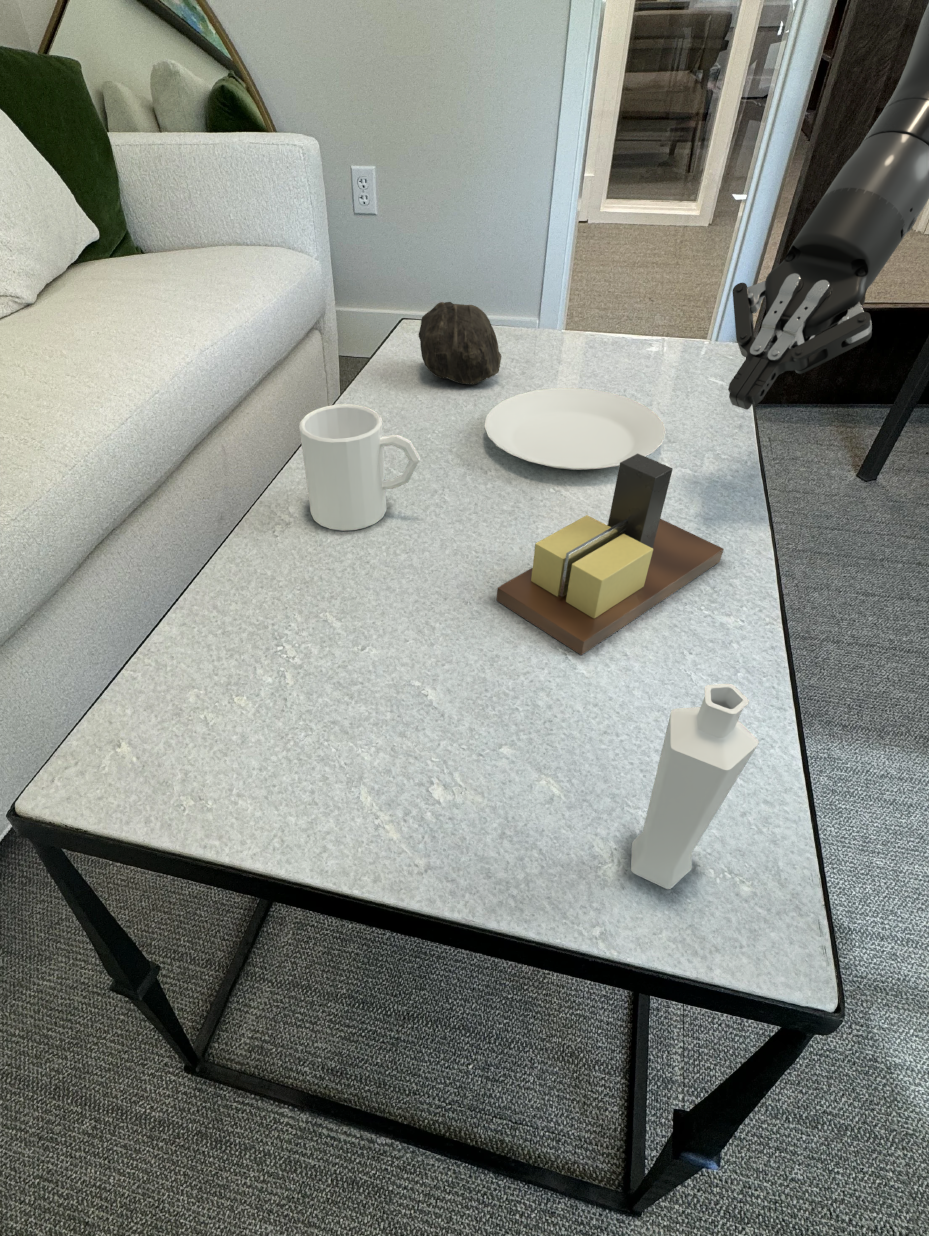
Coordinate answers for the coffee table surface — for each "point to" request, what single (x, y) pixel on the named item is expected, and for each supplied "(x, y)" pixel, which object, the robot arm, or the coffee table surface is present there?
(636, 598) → the slicer board
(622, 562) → the butter
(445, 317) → the rock
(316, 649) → the coffee table surface
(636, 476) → the knife
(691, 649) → the coffee table surface
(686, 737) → the white faceted vase
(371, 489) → the mug
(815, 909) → the coffee table surface
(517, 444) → the plate
